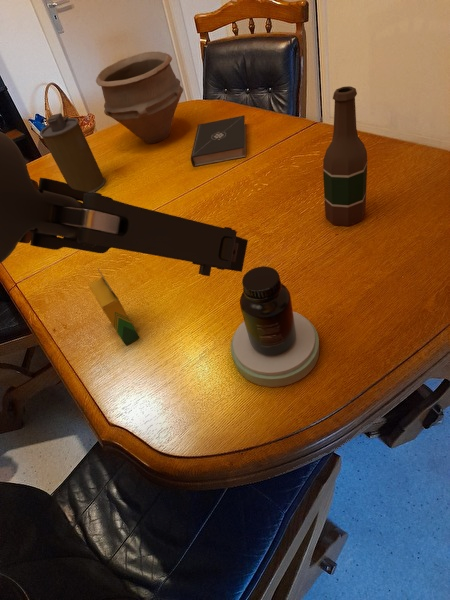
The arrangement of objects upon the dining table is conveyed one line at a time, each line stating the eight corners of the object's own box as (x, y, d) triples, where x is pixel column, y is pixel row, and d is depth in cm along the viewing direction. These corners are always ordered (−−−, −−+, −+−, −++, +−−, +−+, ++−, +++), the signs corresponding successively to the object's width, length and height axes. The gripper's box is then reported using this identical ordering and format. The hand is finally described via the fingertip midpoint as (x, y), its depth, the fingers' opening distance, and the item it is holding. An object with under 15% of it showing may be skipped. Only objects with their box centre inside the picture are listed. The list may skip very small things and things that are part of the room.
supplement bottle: (304, 329, 59) (297, 267, 51) (282, 364, 56) (271, 304, 47) (264, 315, 63) (251, 256, 54) (240, 347, 59) (223, 288, 51)
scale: (325, 322, 63) (325, 310, 61) (311, 394, 55) (309, 382, 53) (246, 314, 68) (243, 302, 66) (222, 379, 59) (217, 368, 57)
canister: (101, 192, 112) (67, 119, 98) (66, 199, 113) (28, 128, 100) (109, 173, 120) (78, 103, 106) (76, 180, 121) (42, 112, 107)
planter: (204, 118, 135) (187, 43, 119) (178, 153, 119) (153, 72, 104) (140, 124, 143) (116, 55, 128) (107, 158, 128) (75, 84, 113)
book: (199, 134, 126) (196, 124, 124) (246, 125, 124) (244, 115, 122) (192, 167, 111) (189, 156, 109) (245, 157, 108) (244, 146, 106)
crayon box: (111, 323, 73) (82, 275, 65) (125, 314, 74) (98, 266, 66) (125, 347, 68) (95, 298, 60) (140, 338, 69) (113, 289, 61)
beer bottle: (317, 219, 82) (309, 96, 66) (341, 201, 85) (339, 78, 68) (349, 232, 77) (350, 101, 61) (373, 211, 80) (380, 82, 63)
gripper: (-200, 231, 25) (77, 262, 43) (83, 327, 13) (295, 313, 32) (-189, 106, 24) (87, 192, 43) (120, 89, 12) (314, 218, 31)
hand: (176, 244), depth 37 cm, fingers open, 13 cm apart
